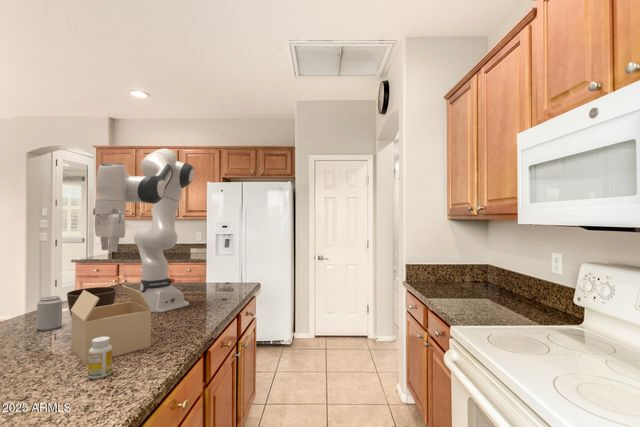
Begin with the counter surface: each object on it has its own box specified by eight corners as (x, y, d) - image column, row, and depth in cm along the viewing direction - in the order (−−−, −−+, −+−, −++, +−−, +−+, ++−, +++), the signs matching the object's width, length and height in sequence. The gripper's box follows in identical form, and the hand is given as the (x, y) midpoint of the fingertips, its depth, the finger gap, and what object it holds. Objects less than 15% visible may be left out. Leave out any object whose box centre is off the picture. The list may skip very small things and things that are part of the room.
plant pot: (125, 330, 126) (125, 288, 126) (88, 344, 112) (89, 296, 112) (94, 327, 130) (95, 286, 130) (55, 340, 116) (56, 293, 116)
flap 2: (132, 301, 121) (133, 300, 122) (150, 309, 110) (151, 308, 110) (121, 285, 119) (123, 284, 119) (139, 292, 108) (140, 291, 108)
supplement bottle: (91, 381, 86) (92, 344, 86) (85, 375, 89) (85, 339, 89) (114, 374, 90) (115, 338, 90) (107, 368, 93) (108, 334, 93)
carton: (131, 334, 121) (131, 301, 122) (150, 346, 109) (151, 310, 110) (70, 348, 108) (71, 311, 109) (85, 364, 96) (85, 322, 96)
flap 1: (85, 321, 97) (83, 320, 96) (72, 310, 108) (70, 310, 108) (99, 298, 99) (98, 297, 99) (85, 290, 111) (83, 289, 111)
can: (47, 332, 124) (48, 299, 124) (31, 330, 125) (32, 299, 126) (66, 326, 131) (67, 295, 132) (51, 324, 133) (51, 294, 133)
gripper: (131, 209, 107) (129, 252, 107) (112, 211, 121) (110, 249, 121) (109, 208, 103) (107, 253, 102) (91, 210, 117) (90, 249, 116)
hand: (108, 250), depth 111 cm, fingers open, 8 cm apart
